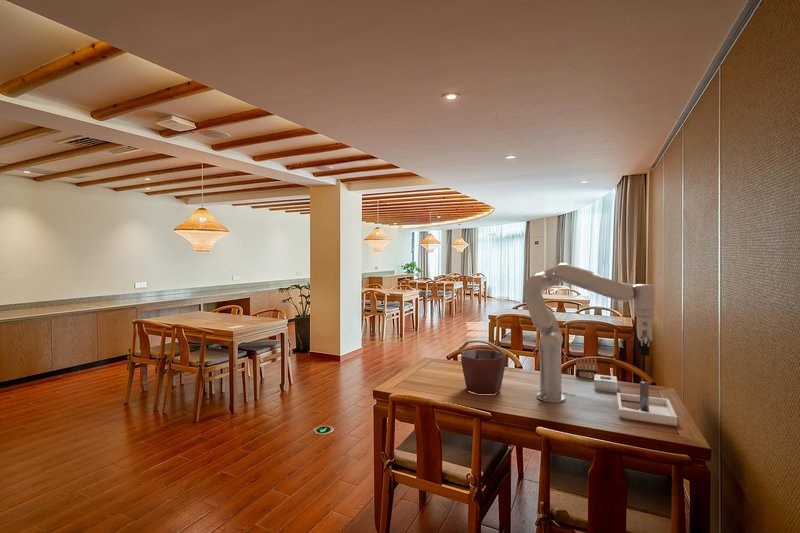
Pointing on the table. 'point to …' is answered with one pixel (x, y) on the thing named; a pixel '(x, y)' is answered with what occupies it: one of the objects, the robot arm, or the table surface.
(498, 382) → the bucket
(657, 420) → the tray
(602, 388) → the block
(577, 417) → the table surface
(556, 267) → the robot arm
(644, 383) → the pin
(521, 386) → the table surface
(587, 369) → the ammunition clip
